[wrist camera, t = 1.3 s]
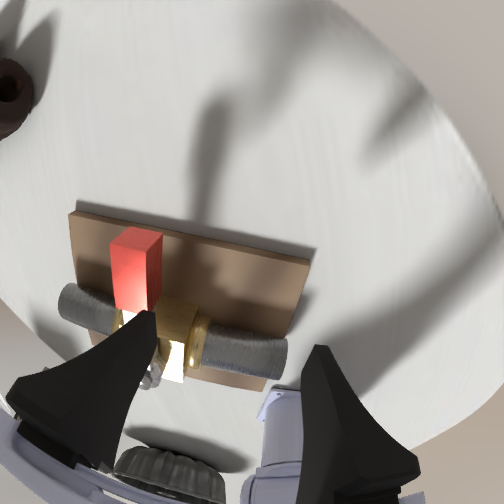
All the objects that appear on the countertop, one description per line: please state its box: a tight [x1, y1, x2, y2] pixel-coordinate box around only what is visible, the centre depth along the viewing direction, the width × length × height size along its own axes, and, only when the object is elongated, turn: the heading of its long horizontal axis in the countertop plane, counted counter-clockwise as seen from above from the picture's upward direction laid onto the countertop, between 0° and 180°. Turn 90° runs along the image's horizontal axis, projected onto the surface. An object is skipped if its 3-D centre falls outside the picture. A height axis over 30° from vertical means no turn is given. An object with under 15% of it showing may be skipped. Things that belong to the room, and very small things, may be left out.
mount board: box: [68, 211, 310, 392], centre depth 23 cm, size 20×16×1 cm
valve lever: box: [110, 226, 167, 390], centre depth 15 cm, size 12×3×3 cm, turn 169°
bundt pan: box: [110, 446, 226, 504], centre depth 41 cm, size 26×26×10 cm
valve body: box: [58, 283, 288, 383], centre depth 21 cm, size 20×5×5 cm, turn 79°
